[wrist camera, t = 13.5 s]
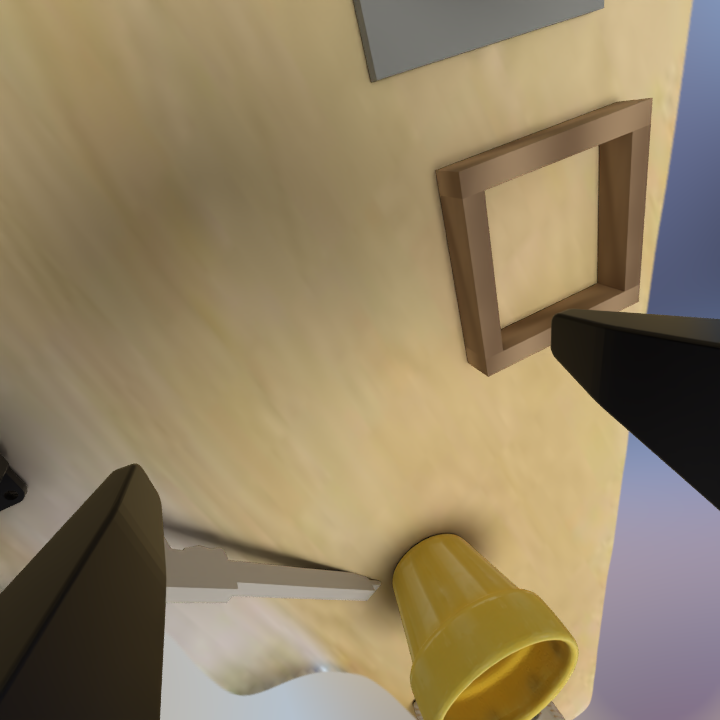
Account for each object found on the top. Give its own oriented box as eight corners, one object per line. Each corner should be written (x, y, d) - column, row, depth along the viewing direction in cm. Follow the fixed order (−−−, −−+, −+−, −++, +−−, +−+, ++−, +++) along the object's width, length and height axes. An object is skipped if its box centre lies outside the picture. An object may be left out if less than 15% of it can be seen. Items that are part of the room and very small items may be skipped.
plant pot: (372, 634, 35) (435, 783, 26) (361, 545, 30) (434, 693, 22) (481, 583, 38) (568, 703, 30) (487, 495, 33) (593, 608, 25)
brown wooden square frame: (468, 362, 27) (487, 376, 25) (435, 170, 21) (458, 171, 19) (611, 293, 29) (638, 301, 27) (617, 101, 23) (652, 98, 22)
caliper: (92, 507, 22) (67, 621, 17) (104, 491, 22) (83, 600, 16) (370, 587, 33) (409, 671, 27) (379, 577, 33) (420, 659, 27)
